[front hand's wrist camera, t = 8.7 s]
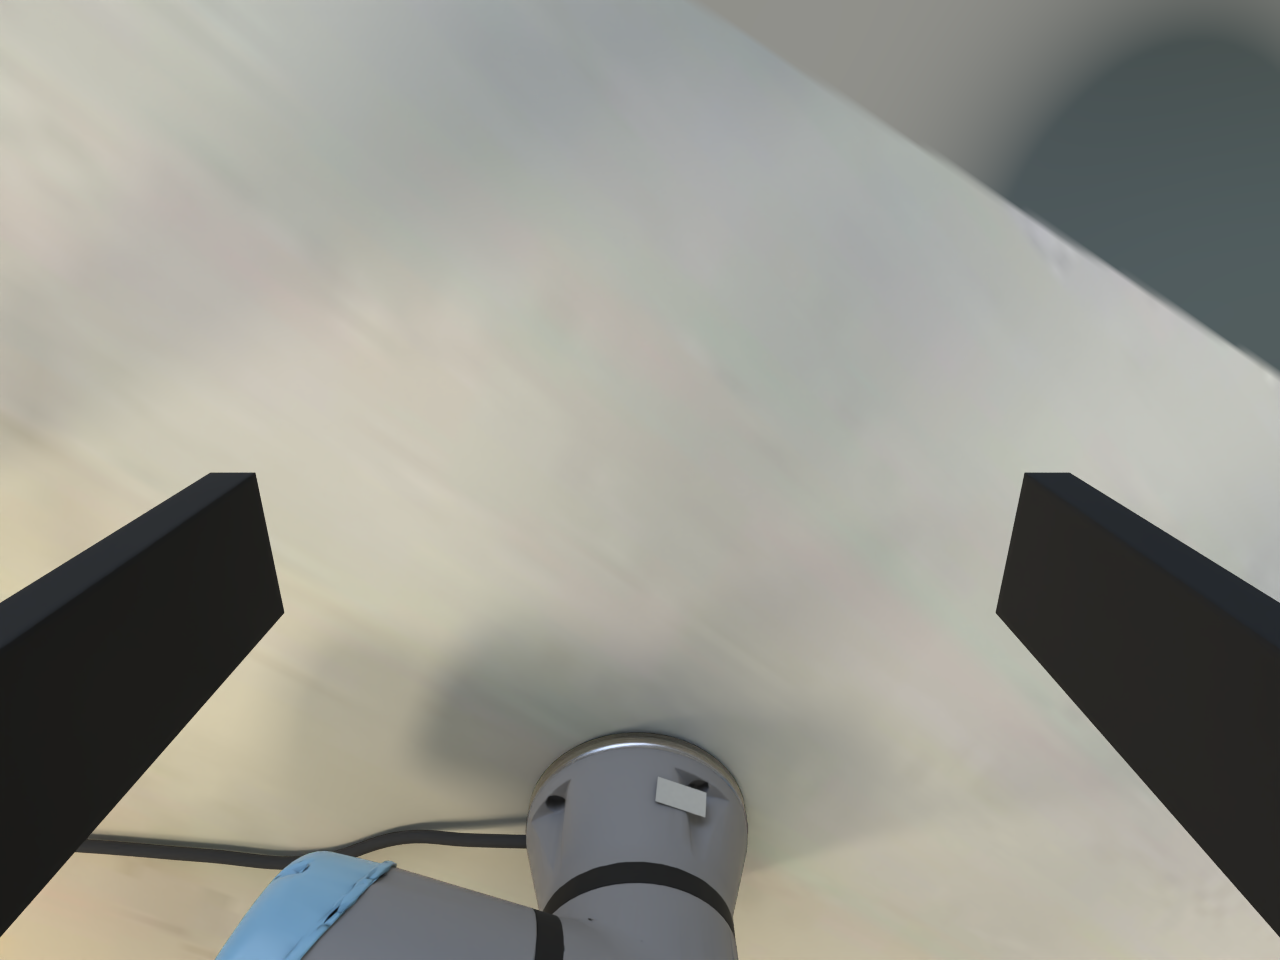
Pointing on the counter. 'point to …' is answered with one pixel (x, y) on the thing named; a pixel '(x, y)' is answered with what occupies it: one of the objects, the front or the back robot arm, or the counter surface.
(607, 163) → the counter surface
